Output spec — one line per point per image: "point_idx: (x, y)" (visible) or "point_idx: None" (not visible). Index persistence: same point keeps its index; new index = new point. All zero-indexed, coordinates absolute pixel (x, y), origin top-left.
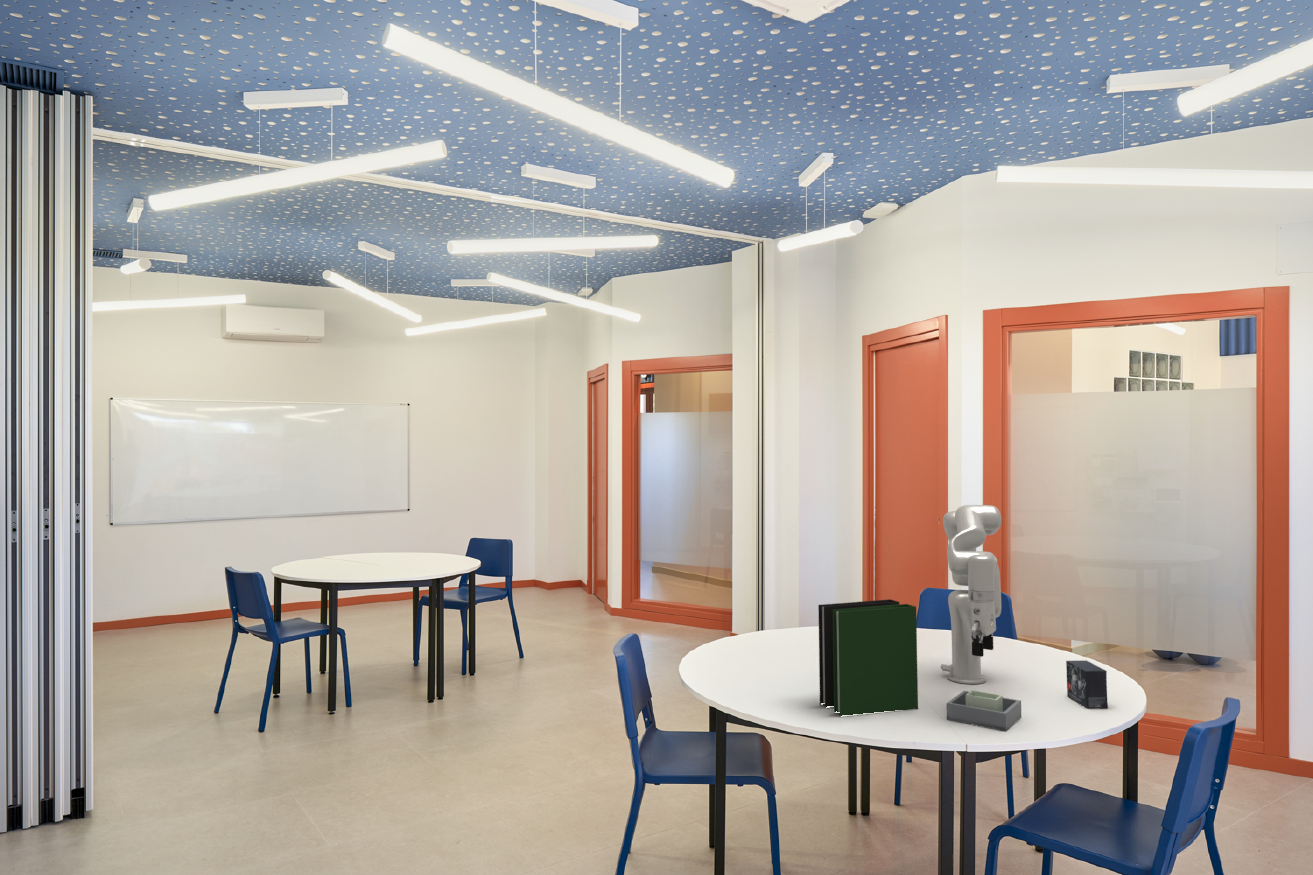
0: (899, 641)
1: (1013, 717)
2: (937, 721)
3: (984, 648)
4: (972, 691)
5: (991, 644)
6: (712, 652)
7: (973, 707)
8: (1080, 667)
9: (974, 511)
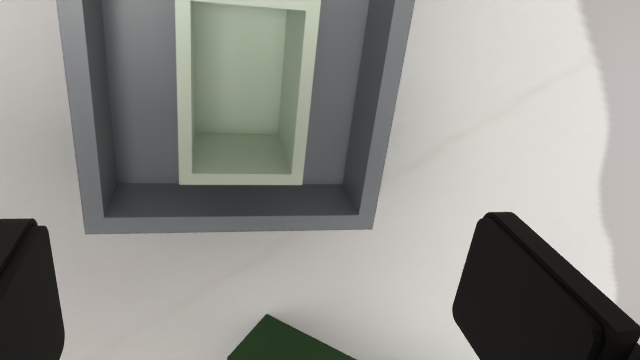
0: None
1: None
2: (390, 210)
3: (60, 320)
4: (206, 173)
5: (18, 285)
6: None
7: (388, 105)
8: None
9: None
